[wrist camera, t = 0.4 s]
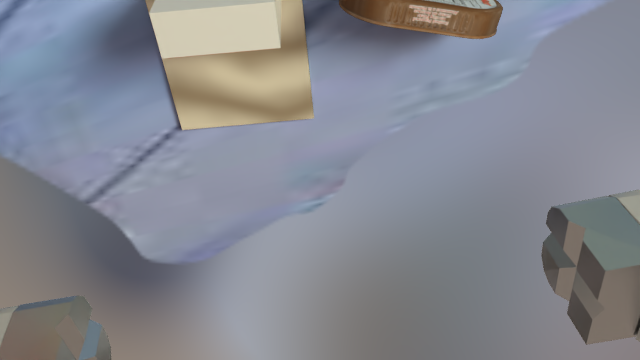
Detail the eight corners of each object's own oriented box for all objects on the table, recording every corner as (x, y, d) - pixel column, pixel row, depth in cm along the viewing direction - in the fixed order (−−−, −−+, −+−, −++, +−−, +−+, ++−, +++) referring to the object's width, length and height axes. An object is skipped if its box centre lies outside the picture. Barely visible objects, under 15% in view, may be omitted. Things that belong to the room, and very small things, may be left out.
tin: (335, -11, 55) (341, 27, 49) (341, -43, 53) (349, -8, 47) (480, 11, 57) (505, 50, 51) (492, -19, 55) (519, 17, 49)
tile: (169, -32, 53) (149, 13, 45) (276, -42, 52) (274, 1, 45) (179, 12, 55) (162, 61, 48) (281, 2, 55) (280, 50, 48)
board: (132, -53, 52) (130, -51, 51) (295, -68, 51) (295, -67, 51) (182, 127, 65) (182, 129, 64) (313, 115, 64) (313, 118, 64)
